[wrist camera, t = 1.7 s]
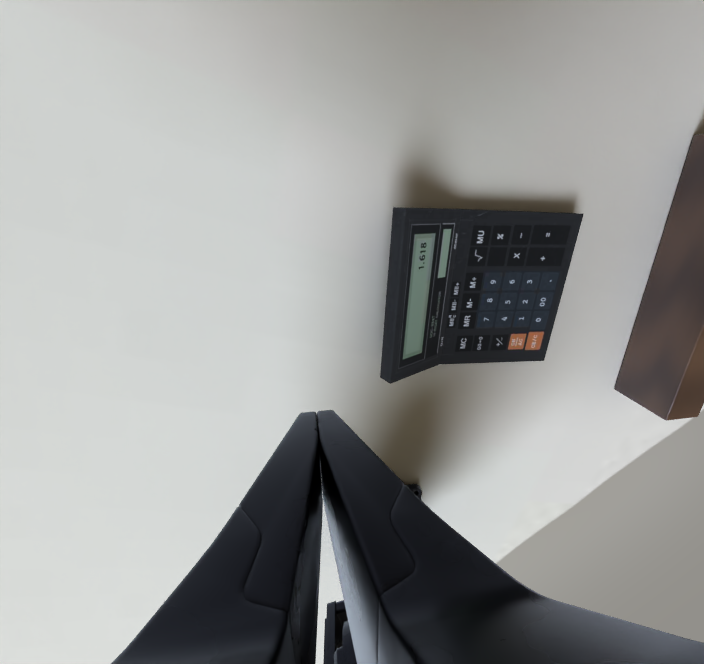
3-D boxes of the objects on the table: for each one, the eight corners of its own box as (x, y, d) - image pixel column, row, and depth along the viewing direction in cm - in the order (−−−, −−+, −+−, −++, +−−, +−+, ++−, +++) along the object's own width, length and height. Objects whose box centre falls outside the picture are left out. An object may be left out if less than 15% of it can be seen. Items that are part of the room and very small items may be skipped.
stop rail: (642, 386, 26) (698, 417, 23) (613, 389, 26) (665, 421, 22) (729, 134, 20) (826, 121, 16) (693, 134, 20) (784, 120, 16)
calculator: (535, 355, 24) (566, 376, 21) (372, 360, 22) (383, 383, 19) (572, 213, 20) (615, 215, 18) (382, 206, 19) (397, 207, 16)
